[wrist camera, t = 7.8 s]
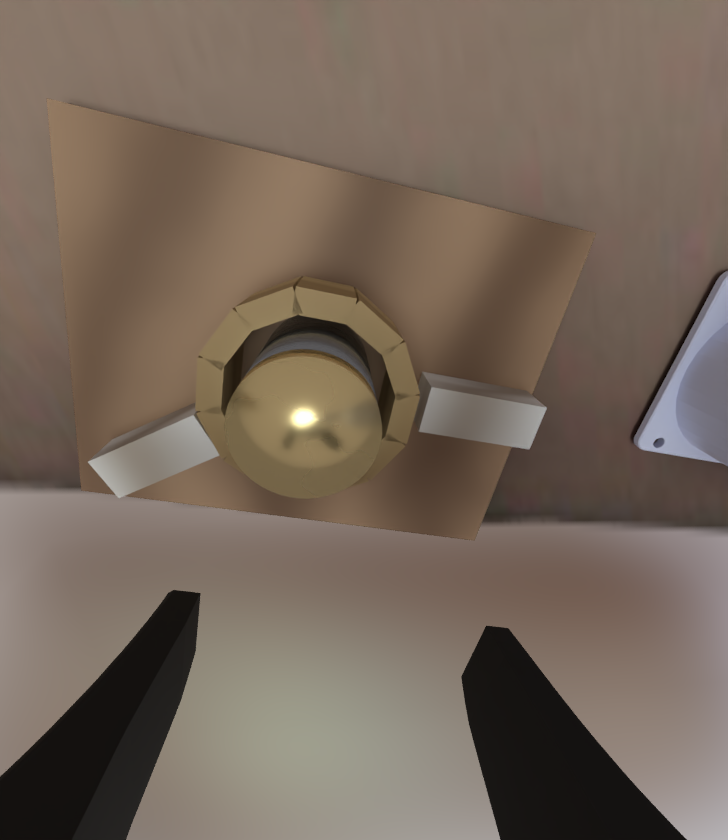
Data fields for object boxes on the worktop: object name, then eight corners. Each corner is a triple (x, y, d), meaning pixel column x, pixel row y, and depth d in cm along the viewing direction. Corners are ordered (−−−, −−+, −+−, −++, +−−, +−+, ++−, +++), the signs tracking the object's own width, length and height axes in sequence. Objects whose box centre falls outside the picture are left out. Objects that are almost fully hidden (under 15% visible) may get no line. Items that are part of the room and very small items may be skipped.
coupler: (379, 329, 15) (402, 381, 10) (351, 421, 17) (358, 510, 12) (274, 299, 15) (237, 338, 9) (255, 398, 16) (213, 481, 11)
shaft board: (581, 233, 15) (656, 233, 12) (468, 527, 21) (495, 588, 17) (67, 107, 13) (-39, 58, 9) (93, 477, 19) (34, 537, 15)
